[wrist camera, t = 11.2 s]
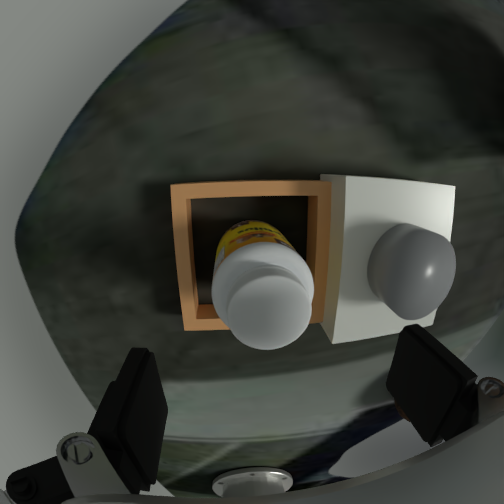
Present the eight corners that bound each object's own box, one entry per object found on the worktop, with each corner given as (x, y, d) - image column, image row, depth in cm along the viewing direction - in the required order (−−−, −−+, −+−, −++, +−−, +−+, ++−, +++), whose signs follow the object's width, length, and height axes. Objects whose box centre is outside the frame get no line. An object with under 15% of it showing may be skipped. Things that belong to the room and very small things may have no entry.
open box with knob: (404, 301, 25) (451, 341, 18) (188, 320, 24) (176, 381, 16) (419, 181, 22) (481, 191, 14) (176, 176, 20) (148, 181, 13)
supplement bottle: (296, 231, 22) (348, 279, 12) (271, 293, 24) (299, 372, 14) (229, 207, 21) (232, 240, 11) (206, 273, 23) (195, 348, 13)
